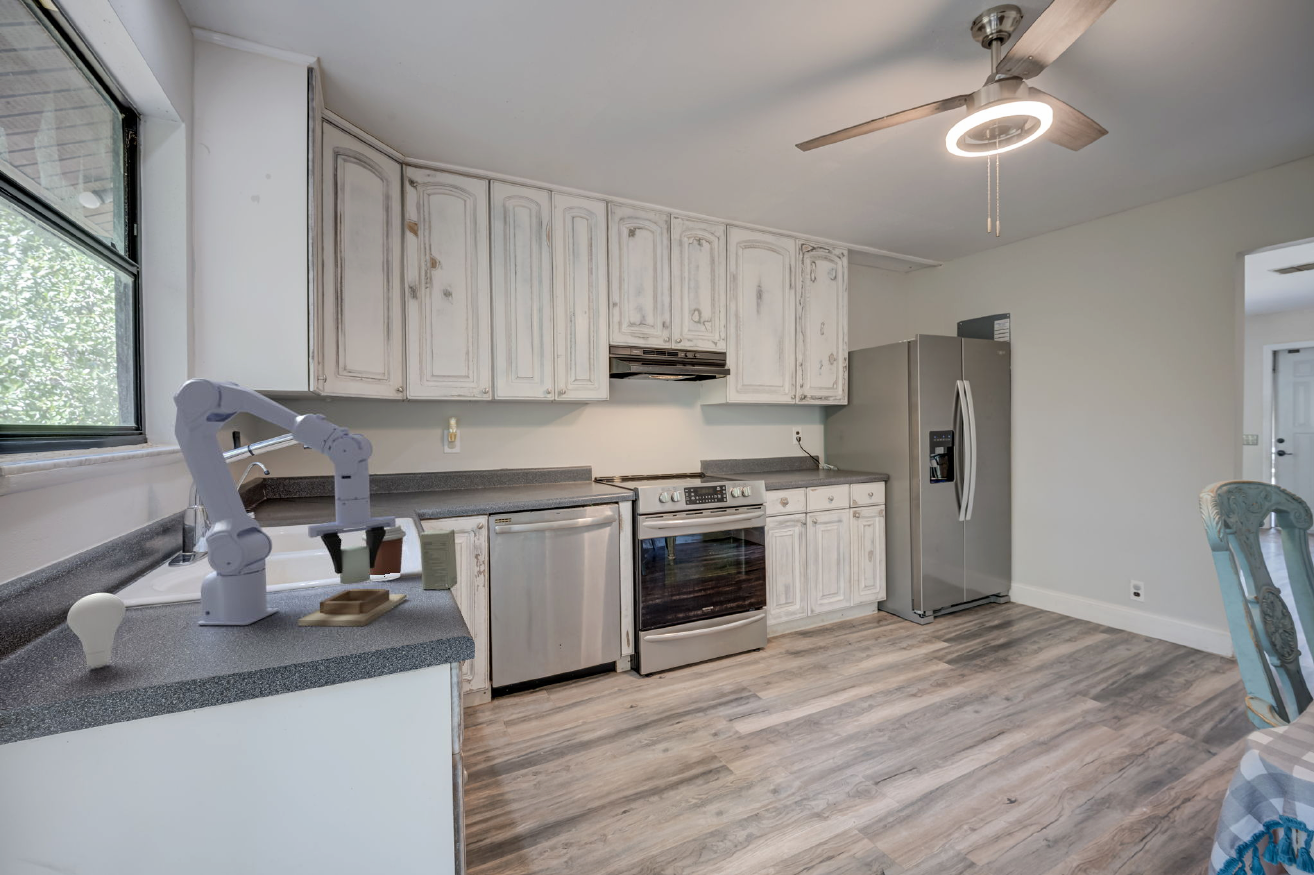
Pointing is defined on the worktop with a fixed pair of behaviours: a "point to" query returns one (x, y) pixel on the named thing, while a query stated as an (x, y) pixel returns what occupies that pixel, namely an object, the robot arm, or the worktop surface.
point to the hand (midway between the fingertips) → (354, 569)
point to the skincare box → (438, 559)
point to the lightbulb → (96, 625)
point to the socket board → (352, 608)
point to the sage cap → (355, 564)
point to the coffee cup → (389, 552)
